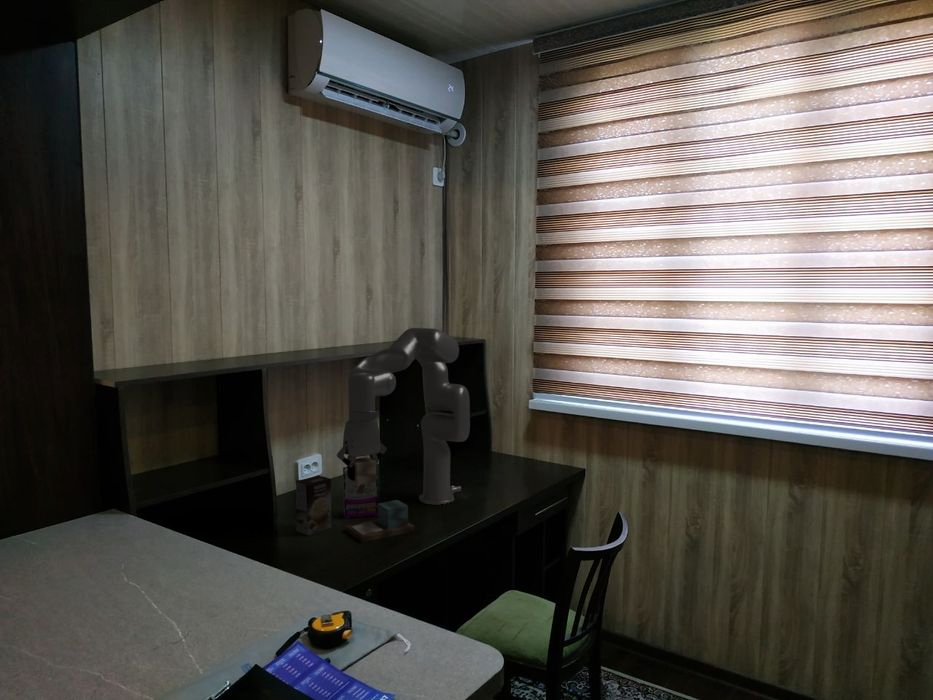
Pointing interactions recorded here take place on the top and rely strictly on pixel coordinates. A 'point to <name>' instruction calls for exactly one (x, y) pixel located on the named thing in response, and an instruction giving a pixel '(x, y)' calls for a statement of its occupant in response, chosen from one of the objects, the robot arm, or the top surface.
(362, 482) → the maple block
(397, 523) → the base
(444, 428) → the robot arm
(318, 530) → the coffee box
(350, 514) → the candy bar box
